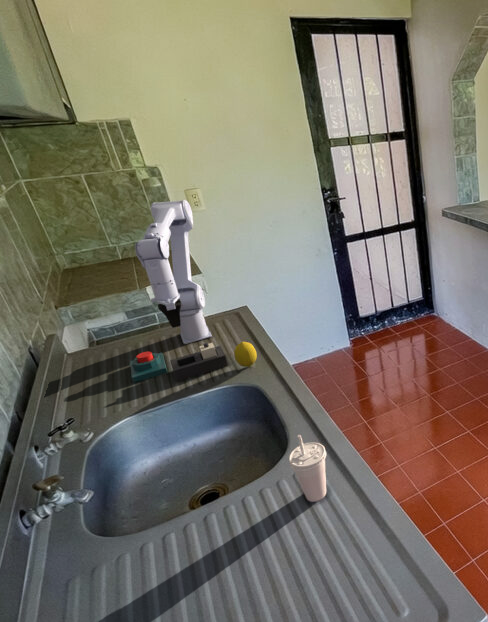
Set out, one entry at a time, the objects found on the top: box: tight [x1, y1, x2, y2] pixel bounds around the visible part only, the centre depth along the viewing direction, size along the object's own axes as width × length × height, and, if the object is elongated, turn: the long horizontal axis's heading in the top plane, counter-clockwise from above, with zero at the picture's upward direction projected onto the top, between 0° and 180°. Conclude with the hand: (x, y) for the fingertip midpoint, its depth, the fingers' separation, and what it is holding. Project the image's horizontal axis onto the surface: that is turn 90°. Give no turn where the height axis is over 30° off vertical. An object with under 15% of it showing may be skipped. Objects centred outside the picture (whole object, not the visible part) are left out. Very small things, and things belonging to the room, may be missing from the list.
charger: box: [198, 342, 217, 359], centre depth 128 cm, size 3×3×7 cm
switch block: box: [129, 352, 168, 384], centre depth 128 cm, size 11×8×4 cm
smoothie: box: [288, 434, 327, 503], centre depth 82 cm, size 6×6×14 cm
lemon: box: [233, 341, 258, 368], centre depth 126 cm, size 6×6×8 cm
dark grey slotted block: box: [170, 345, 229, 382], centre depth 128 cm, size 7×13×4 cm, turn 126°
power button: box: [135, 351, 153, 363], centre depth 127 cm, size 4×4×2 cm
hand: (176, 326), depth 131 cm, fingers closed
